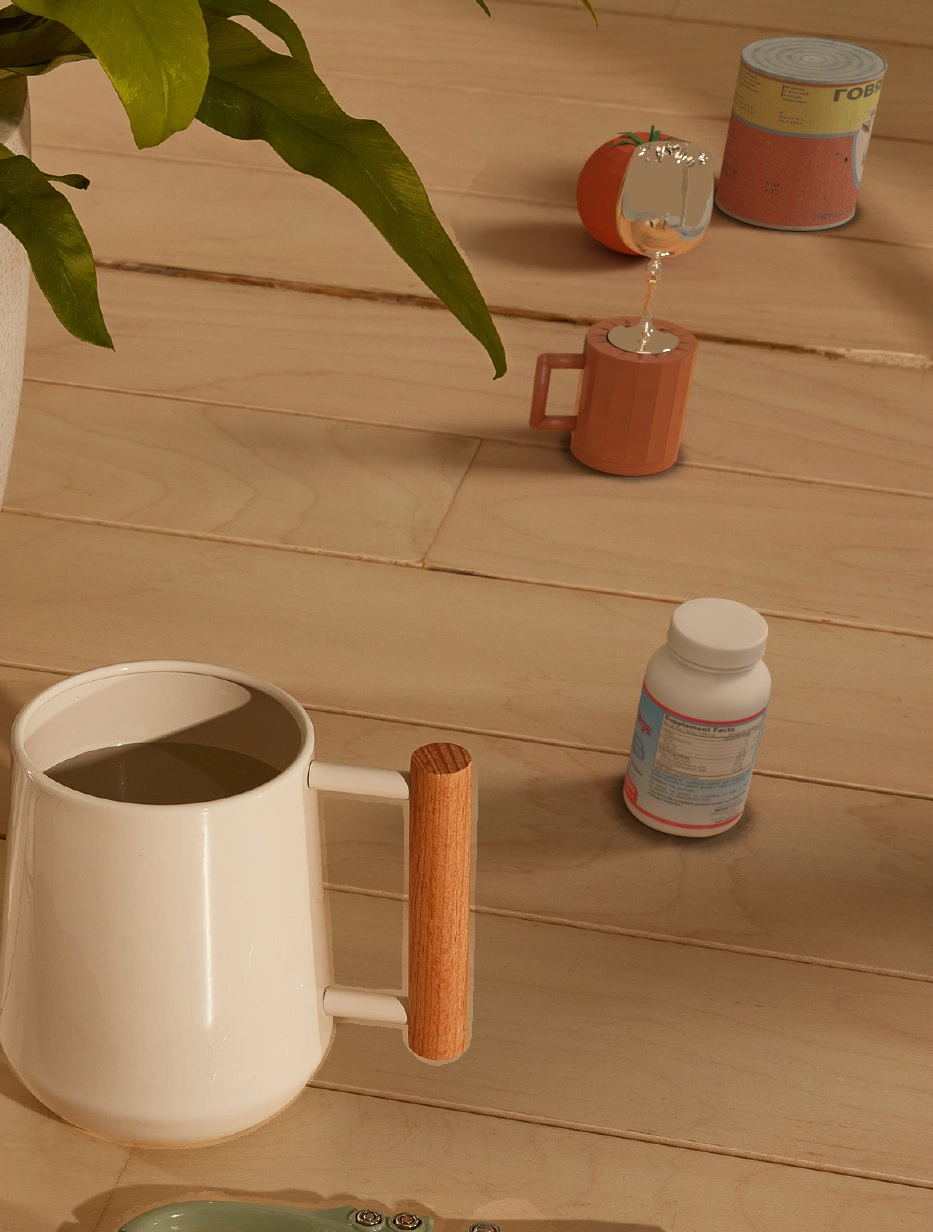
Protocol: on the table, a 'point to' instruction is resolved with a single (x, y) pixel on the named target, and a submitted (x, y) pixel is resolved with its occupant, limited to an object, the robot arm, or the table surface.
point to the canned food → (799, 132)
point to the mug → (621, 400)
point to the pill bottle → (700, 720)
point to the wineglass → (661, 223)
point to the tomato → (609, 185)
